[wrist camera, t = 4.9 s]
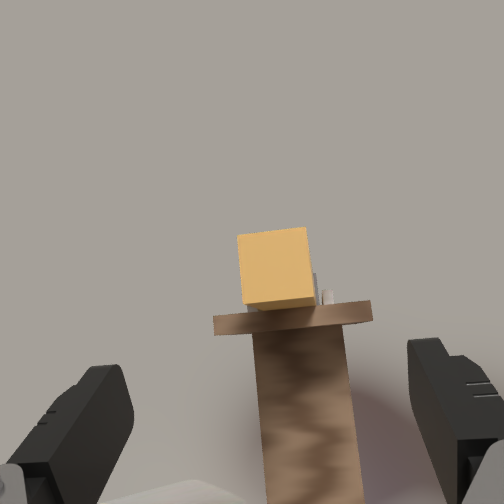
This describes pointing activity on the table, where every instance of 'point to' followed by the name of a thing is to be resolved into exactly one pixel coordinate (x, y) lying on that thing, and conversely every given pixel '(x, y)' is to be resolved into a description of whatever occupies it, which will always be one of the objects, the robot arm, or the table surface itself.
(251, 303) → the tan rectangular block
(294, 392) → the stand
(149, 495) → the table surface
